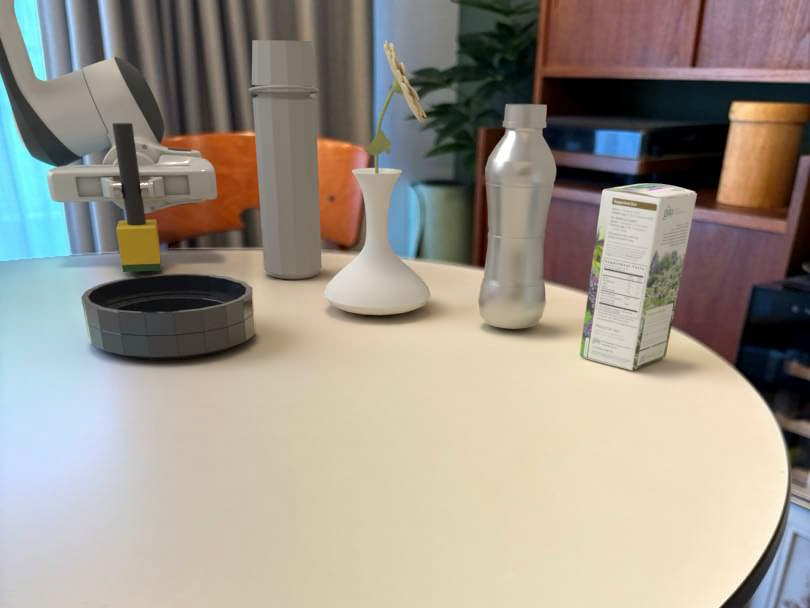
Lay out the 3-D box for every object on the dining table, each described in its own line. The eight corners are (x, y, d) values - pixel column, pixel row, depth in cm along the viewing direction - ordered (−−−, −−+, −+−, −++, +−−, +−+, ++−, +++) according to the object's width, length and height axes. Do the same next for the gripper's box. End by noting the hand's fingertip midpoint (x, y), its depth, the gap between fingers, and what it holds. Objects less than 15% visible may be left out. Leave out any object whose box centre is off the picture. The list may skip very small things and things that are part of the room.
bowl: (104, 374, 70) (94, 321, 68) (80, 327, 82) (72, 281, 79) (276, 352, 76) (273, 302, 73) (231, 312, 87) (227, 268, 85)
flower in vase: (410, 329, 83) (416, 37, 70) (307, 317, 86) (294, 36, 73) (447, 299, 94) (457, 41, 81) (353, 290, 97) (349, 40, 84)
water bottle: (329, 279, 101) (321, 41, 88) (264, 282, 99) (247, 39, 87) (318, 264, 109) (310, 42, 96) (258, 266, 107) (242, 41, 95)
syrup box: (613, 345, 79) (636, 180, 72) (668, 359, 75) (699, 187, 68) (578, 357, 75) (599, 186, 68) (634, 373, 72) (662, 193, 65)
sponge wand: (122, 272, 101) (99, 125, 92) (125, 261, 106) (103, 121, 98) (161, 270, 101) (141, 125, 93) (161, 260, 107) (143, 121, 98)
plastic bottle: (547, 336, 81) (570, 107, 71) (478, 335, 81) (491, 105, 71) (539, 319, 87) (559, 103, 77) (474, 318, 87) (486, 102, 77)
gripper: (49, 151, 106) (33, 163, 95) (211, 150, 110) (215, 161, 99) (59, 204, 109) (44, 221, 98) (216, 200, 114) (220, 217, 102)
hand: (131, 191), depth 98 cm, fingers closed on sponge wand, 2 cm apart
